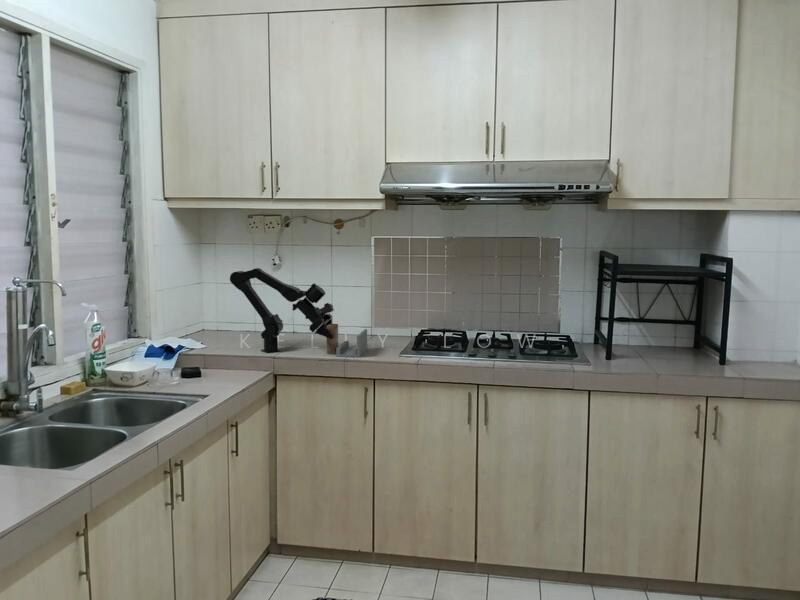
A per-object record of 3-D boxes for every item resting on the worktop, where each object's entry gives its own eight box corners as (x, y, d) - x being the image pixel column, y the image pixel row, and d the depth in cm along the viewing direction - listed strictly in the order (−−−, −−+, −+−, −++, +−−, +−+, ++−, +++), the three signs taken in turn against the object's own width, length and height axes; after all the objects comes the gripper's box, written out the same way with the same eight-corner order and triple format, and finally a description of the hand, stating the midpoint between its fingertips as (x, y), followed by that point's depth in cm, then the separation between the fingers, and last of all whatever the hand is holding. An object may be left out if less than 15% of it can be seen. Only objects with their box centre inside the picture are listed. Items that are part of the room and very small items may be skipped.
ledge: (336, 356, 266) (336, 335, 265) (345, 348, 284) (345, 328, 283) (359, 357, 265) (359, 336, 264) (367, 349, 283) (367, 329, 282)
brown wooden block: (326, 353, 273) (325, 325, 272) (329, 351, 279) (329, 323, 278) (335, 353, 273) (335, 326, 271) (338, 351, 279) (338, 323, 277)
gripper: (316, 300, 264) (343, 326, 264) (327, 295, 283) (352, 320, 283) (298, 318, 266) (324, 345, 266) (310, 312, 285) (335, 337, 285)
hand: (334, 336), depth 275 cm, fingers open, 9 cm apart
